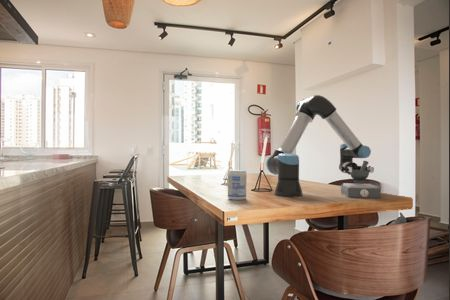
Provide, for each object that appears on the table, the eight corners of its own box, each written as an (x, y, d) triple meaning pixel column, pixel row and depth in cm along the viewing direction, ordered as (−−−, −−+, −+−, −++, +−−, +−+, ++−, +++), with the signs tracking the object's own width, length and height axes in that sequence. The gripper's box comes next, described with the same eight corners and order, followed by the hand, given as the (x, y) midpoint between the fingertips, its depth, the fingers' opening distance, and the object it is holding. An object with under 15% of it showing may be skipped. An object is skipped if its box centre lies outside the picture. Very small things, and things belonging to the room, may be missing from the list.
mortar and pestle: (360, 183, 150) (360, 161, 150) (346, 181, 159) (346, 160, 159) (374, 182, 155) (374, 160, 155) (360, 181, 163) (360, 160, 163)
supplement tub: (232, 200, 139) (232, 171, 139) (224, 198, 147) (224, 170, 147) (249, 199, 143) (249, 170, 143) (241, 197, 151) (241, 169, 151)
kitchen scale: (348, 197, 149) (348, 186, 149) (340, 193, 166) (340, 183, 166) (380, 198, 147) (380, 186, 147) (369, 193, 163) (369, 183, 163)
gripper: (369, 174, 173) (384, 177, 151) (331, 173, 176) (340, 176, 154) (369, 162, 173) (383, 163, 151) (331, 162, 177) (339, 163, 155)
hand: (361, 170), depth 153 cm, fingers closed on mortar and pestle, 10 cm apart
